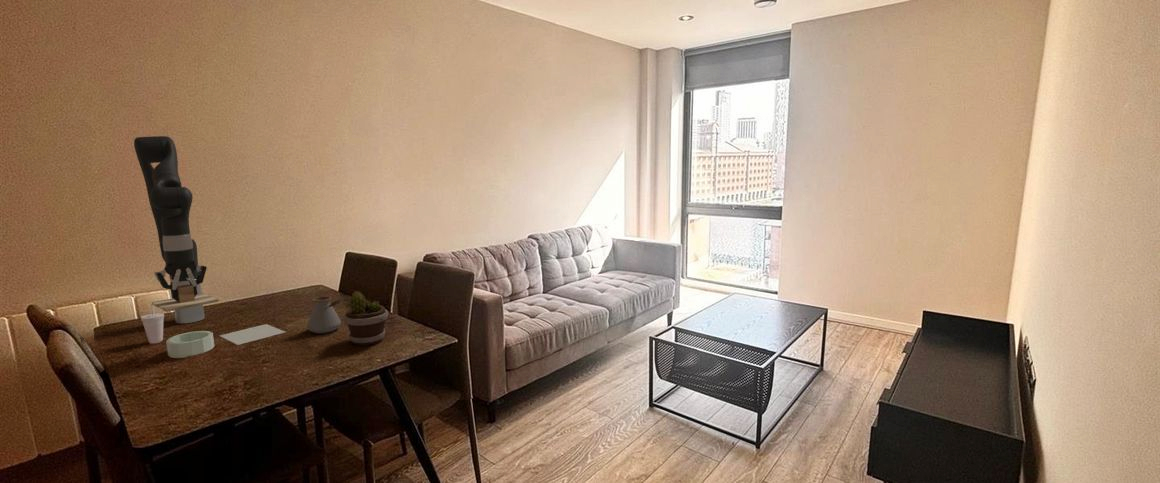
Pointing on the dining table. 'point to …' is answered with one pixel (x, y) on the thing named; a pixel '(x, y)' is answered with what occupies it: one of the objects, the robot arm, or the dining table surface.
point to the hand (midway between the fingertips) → (184, 298)
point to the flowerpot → (365, 320)
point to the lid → (184, 299)
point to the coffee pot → (323, 316)
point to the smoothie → (153, 326)
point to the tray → (252, 334)
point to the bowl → (190, 344)
